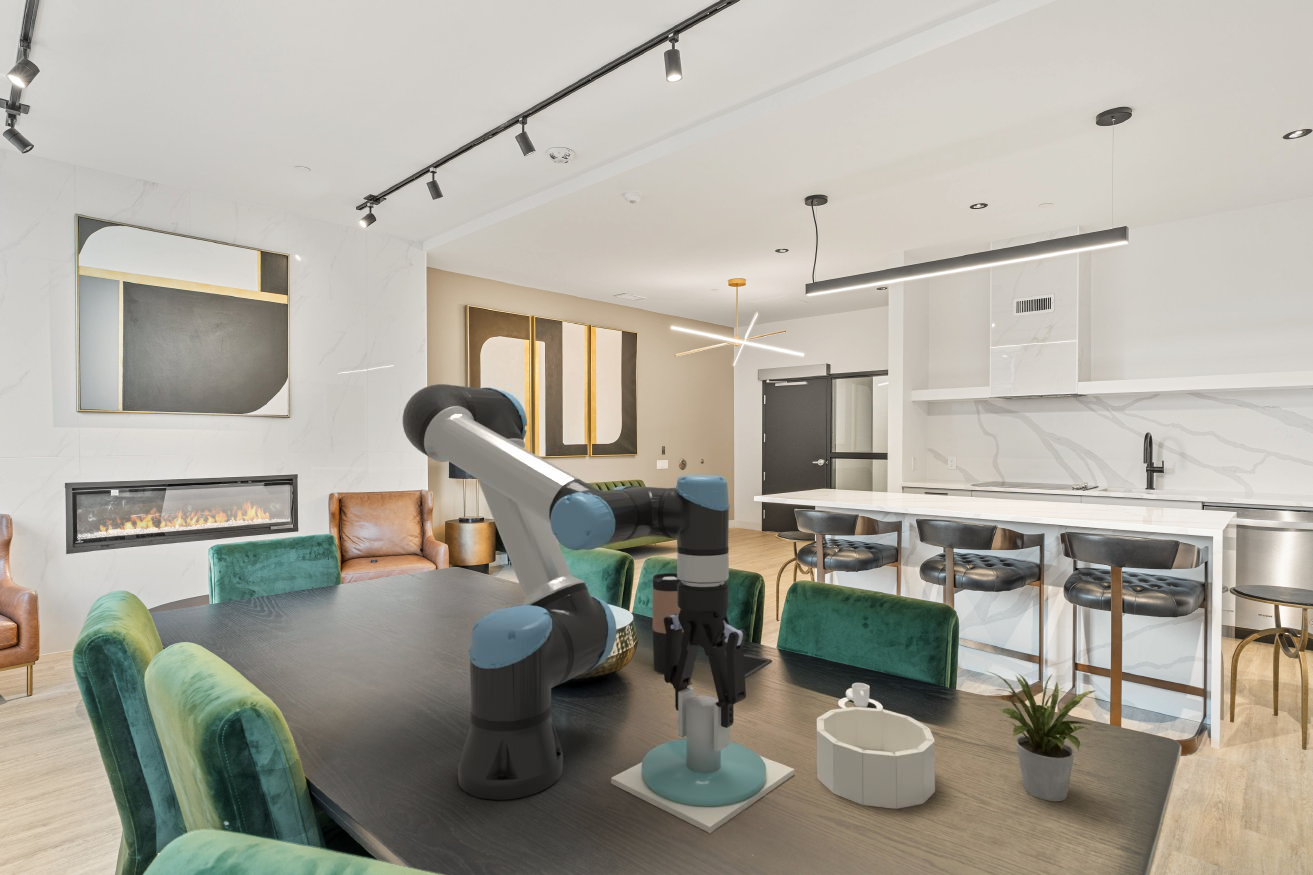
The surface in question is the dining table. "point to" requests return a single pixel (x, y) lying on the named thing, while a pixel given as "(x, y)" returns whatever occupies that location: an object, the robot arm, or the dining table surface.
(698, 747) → the lid
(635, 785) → the mat
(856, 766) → the bowl
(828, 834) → the dining table surface
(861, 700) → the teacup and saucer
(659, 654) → the travel mug
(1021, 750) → the house plant
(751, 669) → the cell phone
